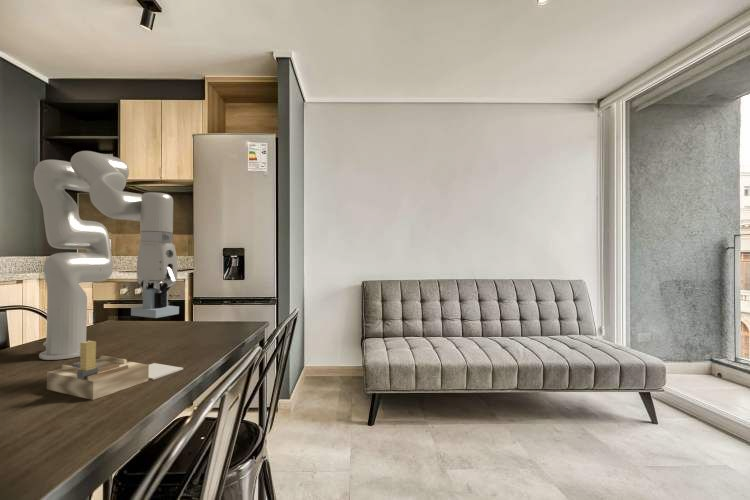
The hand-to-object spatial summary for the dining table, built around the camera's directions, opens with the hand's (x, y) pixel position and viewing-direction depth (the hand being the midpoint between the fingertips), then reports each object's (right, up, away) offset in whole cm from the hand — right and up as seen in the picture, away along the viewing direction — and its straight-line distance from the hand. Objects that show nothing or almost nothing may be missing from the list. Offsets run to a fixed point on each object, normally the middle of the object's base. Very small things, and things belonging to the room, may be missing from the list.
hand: (155, 306), depth 99 cm
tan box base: (-7, -17, -10) cm, 21 cm away
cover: (0, -2, 0) cm, 2 cm away
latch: (-6, -13, -17) cm, 22 cm away
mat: (0, -18, 0) cm, 18 cm away
